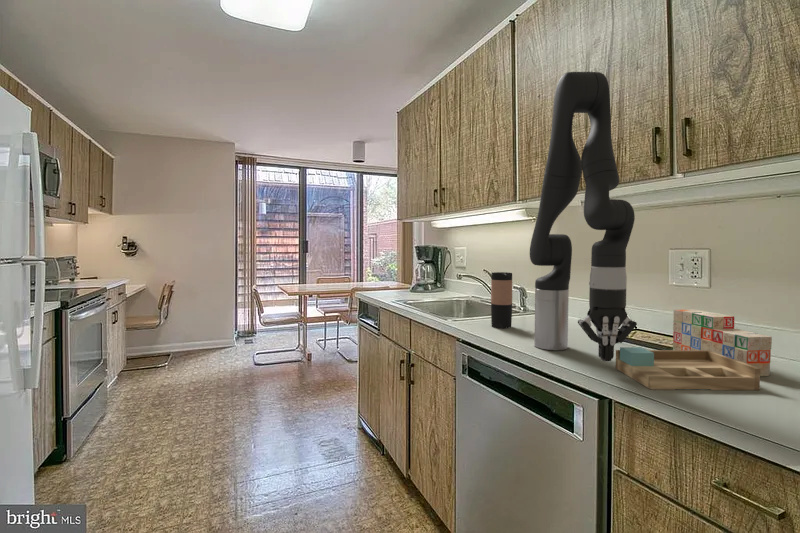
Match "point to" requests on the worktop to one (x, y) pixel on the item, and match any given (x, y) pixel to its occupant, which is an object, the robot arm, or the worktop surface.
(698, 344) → the stack of blocks
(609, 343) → the robot arm
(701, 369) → the board
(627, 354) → the block
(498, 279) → the travel mug
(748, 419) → the worktop surface
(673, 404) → the worktop surface
